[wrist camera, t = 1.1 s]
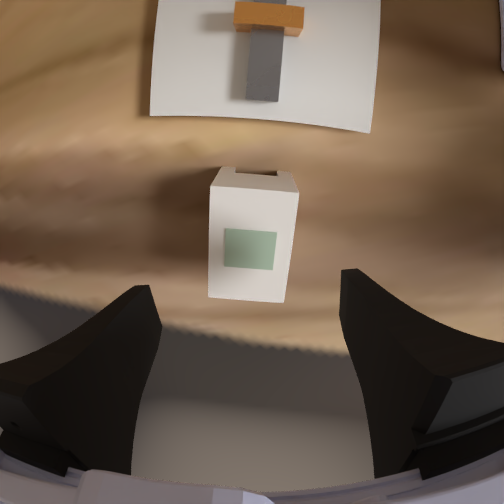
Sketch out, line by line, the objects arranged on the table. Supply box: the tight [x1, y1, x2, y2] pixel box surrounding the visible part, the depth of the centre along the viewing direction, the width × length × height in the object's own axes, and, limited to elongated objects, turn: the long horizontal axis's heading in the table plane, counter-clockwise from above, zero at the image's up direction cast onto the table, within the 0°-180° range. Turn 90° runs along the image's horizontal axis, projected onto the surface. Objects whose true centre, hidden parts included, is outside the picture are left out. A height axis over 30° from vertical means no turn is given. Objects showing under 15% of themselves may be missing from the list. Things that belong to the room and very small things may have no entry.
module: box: [208, 167, 299, 303], centre depth 17 cm, size 4×6×5 cm, turn 176°
